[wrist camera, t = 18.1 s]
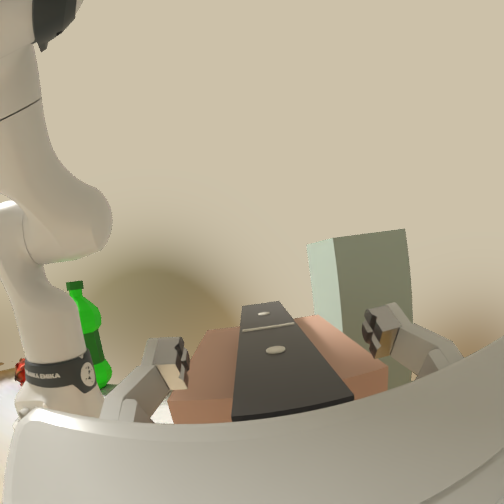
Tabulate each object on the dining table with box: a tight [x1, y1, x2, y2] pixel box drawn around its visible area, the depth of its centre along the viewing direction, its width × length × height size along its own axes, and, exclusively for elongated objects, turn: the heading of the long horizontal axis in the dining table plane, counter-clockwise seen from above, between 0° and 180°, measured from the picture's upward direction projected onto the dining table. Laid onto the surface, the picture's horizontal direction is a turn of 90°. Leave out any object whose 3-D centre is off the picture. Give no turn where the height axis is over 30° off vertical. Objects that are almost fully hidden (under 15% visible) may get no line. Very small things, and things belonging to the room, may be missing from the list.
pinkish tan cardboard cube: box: [167, 315, 388, 424], centre depth 20 cm, size 12×16×18 cm
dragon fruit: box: [15, 358, 26, 386], centre depth 46 cm, size 8×8×12 cm
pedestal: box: [307, 229, 413, 390], centre depth 37 cm, size 10×14×26 cm
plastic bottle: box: [66, 281, 112, 388], centre depth 51 cm, size 10×10×25 cm
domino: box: [231, 301, 354, 422], centre depth 18 cm, size 4×22×2 cm, turn 1°
